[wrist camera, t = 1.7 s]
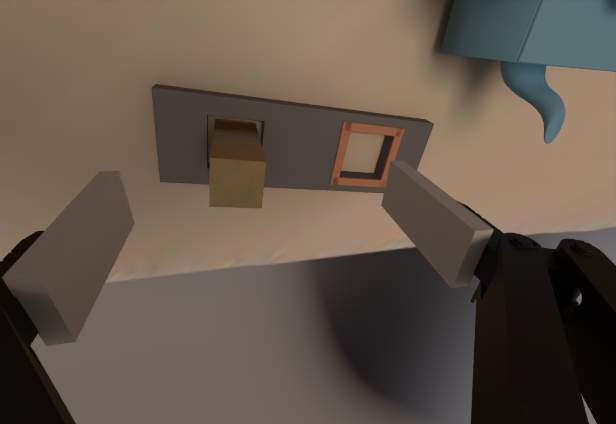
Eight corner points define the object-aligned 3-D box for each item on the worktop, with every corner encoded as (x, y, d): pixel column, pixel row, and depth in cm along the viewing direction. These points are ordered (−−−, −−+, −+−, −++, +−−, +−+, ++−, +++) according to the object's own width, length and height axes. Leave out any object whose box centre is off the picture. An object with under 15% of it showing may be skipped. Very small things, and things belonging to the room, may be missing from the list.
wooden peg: (215, 155, 35) (209, 206, 25) (215, 118, 33) (209, 157, 23) (252, 158, 36) (261, 208, 26) (255, 122, 34) (266, 162, 24)
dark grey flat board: (163, 174, 35) (159, 183, 33) (156, 84, 30) (151, 88, 28) (401, 187, 44) (408, 195, 42) (425, 119, 39) (435, 124, 37)
